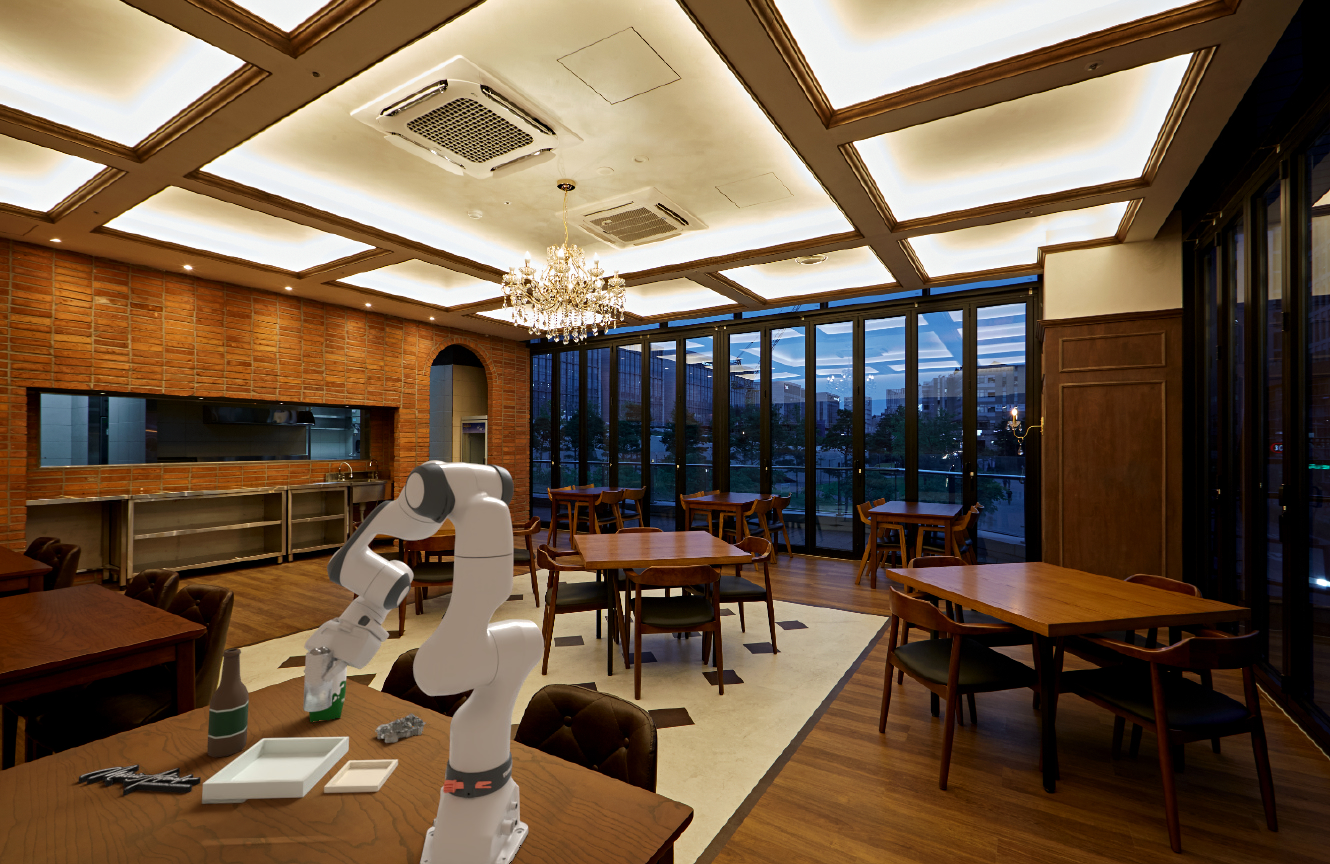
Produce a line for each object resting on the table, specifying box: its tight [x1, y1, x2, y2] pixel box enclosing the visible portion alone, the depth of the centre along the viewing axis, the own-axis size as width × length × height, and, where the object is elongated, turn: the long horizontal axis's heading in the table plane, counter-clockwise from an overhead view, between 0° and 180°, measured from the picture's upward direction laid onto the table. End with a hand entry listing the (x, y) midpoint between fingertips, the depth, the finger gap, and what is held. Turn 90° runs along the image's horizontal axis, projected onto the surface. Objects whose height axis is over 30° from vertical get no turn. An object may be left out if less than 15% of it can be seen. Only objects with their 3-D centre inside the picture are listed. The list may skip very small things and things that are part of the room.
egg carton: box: [375, 712, 427, 744], centre depth 151 cm, size 11×8×4 cm
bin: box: [201, 736, 350, 805], centre depth 131 cm, size 20×20×4 cm
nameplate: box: [77, 764, 202, 797], centre depth 128 cm, size 28×2×10 cm
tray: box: [323, 759, 399, 794], centre depth 130 cm, size 11×11×2 cm
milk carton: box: [308, 661, 348, 722], centre depth 163 cm, size 9×9×20 cm
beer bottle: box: [207, 647, 250, 759], centre depth 144 cm, size 8×8×24 cm
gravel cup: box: [302, 646, 334, 713], centre depth 132 cm, size 6×6×13 cm
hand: (315, 677), depth 132 cm, fingers closed on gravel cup, 5 cm apart
